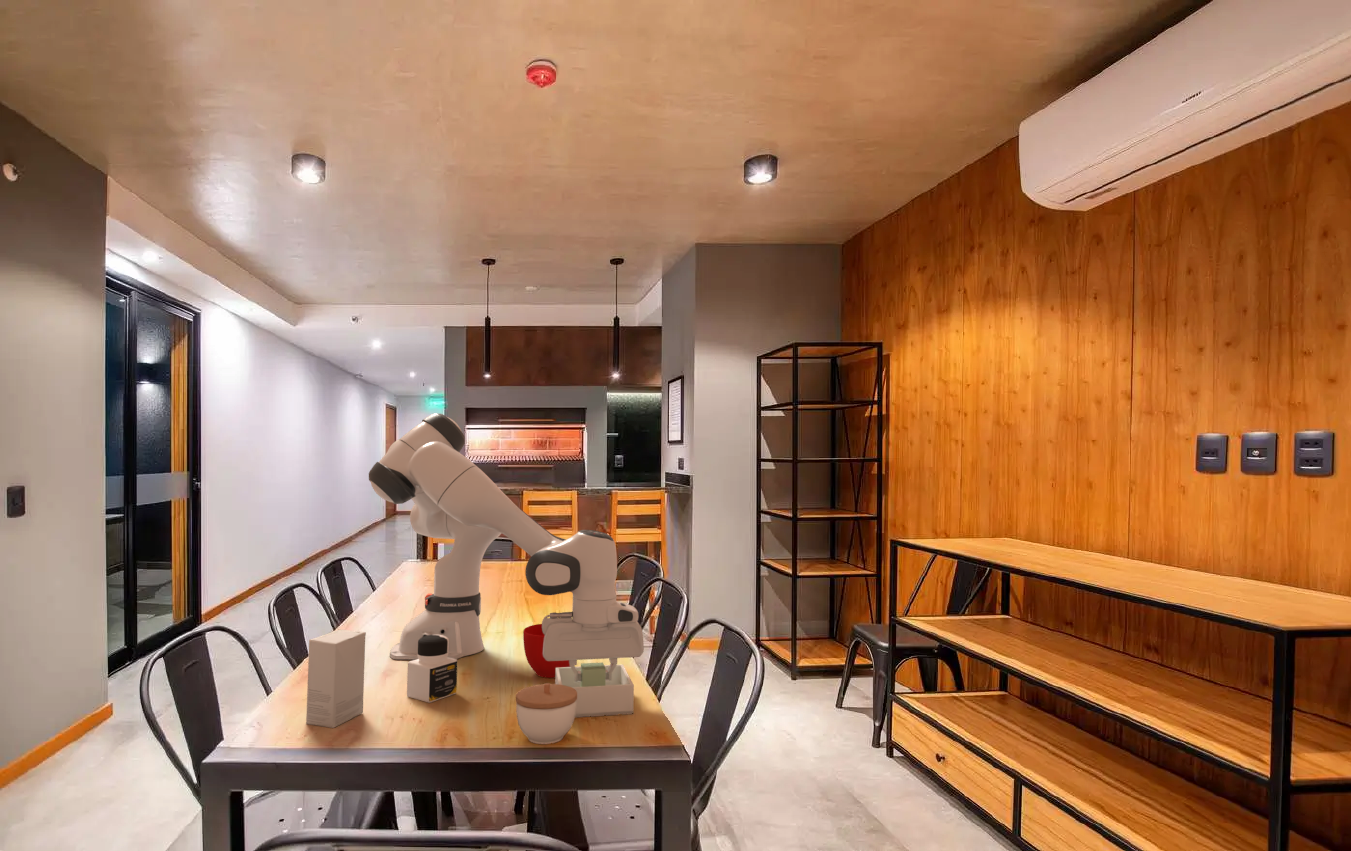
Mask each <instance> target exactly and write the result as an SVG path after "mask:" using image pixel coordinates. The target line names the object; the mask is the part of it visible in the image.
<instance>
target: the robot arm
mask: <svg viewBox="0 0 1351 851" xmlns="http://www.w3.org/2000/svg"><path fill="white" fill-rule="evenodd" d="M465 439H466V438H465V435H464V432H463V431H462V428H461V427H460V426H459V424H458V423H457V422H456V421H455V420H454V419H452V418H450V417H448V416H447V415H445V414H442V413H435V412H434V413H432V414H430V415H428V416H426V417H424V418H423V419H422V421H421V422H420V423H419V424H417V425H416V426H414V427H413V428H412V429H410V430H409V431H408V432H407V433H405V434H404V435H403V436H401V437H400V438H399V439H397V440H395V441H394V442H393V443H392V444H391V445H390V446H389V448H388V449H387V452H386V453H385V454H384V456H383V457H381V459H380V460H379V461H376V462H375V463H374V464H373V466H372V467H371V469H370V471H369V472H368V481H369V482H370V483H371V487H372V489H373V490H374V492H375V493H376V494H377V495H378V497H380V498H381V499H383V500H385V501H387V502H389V503H392V504H393V505H399V504H402V505H403V504H405V503H407V502H409V501H410V500H412V501H413V503H414V504H413V506H412V508H411V510H410V514H409V515H410V516H409V520H410V525H411V527H412V530H413V531H414V532H415V534H418V535H422V536H425V537H428V538H433V539H441V540H442V539H445V540H454V541H453V546H452V548H451V551H450V552H449V553H447V554H445V555H443V556H442V557H440V559H439V560H438V561H437V562H436V563H435V566H434V572H433V573H434V576H433V579H434V580H433V593H431V592H430V593H427V594H426V595H425V597H424V610H423V611H422V612H421V613H420V614H418V615H416V616H415V617H414V618H412V619H411V620H410V621H408V623H407V624H406V625H404V628H402V631H401V634H400V639H399V643H396V644H394V645H393V646H392V647H391V648H390V651H389V657H390V658H391V659H392V660H416V659H419V658H418V640H419V639H420V638H422V637H424V636H427V635H443V636H446V637H447V638H448V639H449V645H448V656H447V657H449V658H453V659H457V660H459V659H460V658H463V657H466V656H471V655H475V654H477V653H480V652H481V651H483V650H484V649H485V645H484V641H483V638H482V637H483V636H482V631H481V626H480V625H481V623H480V614H481V610H482V609H481V608H482V607H481V606H482V597H481V592H480V577H481V574H480V573H481V567H482V563H483V558H484V555H485V553H486V550H487V549H488V548H489V546H490V545H491V544H492V542H494V541H495V540H496V539H497V538H499V537H500V536H501V535H503V536H505V537H507V538H508V539H509V540H510V541H512V542H513V543H514V544H515V545H517V546H518V547H519V548H520V549H522V550H523V551H524V552H526V553H527V554H528V555H529V556H530V558H529V559H528V561H527V562H526V566H525V569H524V570H525V571H524V572H525V579H526V582H527V584H528V585H529V587H530V588H531V590H533V591H534V592H536V593H537V594H540V595H543V596H556V595H560V594H567V593H569V592H570V593H572V608H571V609H572V611H565V612H556V611H555V612H550V613H549V614H547V615H545V616H544V617H543V619H542V621H541V624H542V632H543V634H544V635H545V636H544V643H543V657H544V658H545V659H546V660H547V661H563V660H569V664H570V667H571V669H572V670H573V672H574V681H575V682H582V671H577V669H576V667H577V665H578V661H579V660H580V661H582V660H583V661H584V660H602V659H603V660H604V659H608V660H609V662H610V664H609V665H610V666H609V667H608V669H607V670H606V676H605V681H609V680H611V679H612V672H613V670H614V668H615V667H616V665H618V659H620V658H621V659H625V658H627V659H629V658H641V656H642V655H643V654H644V651H645V650H644V649H645V646H644V634H643V628H642V627H641V624H640V623H639V622H638V621H639V612H638V609H637V608H636V607H635V606H633V605H631V604H627V603H624V602H621V601H617V591H616V579H617V577H618V576H617V575H618V560H617V559H618V557H617V546H616V542H615V539H614V538H613V537H612V536H611V535H609V534H608V533H605V532H602V531H598V530H593V529H581V530H578V531H577V533H575V534H573V535H572V536H570V537H568V538H567V539H565V538H562V537H559V536H557V535H554V534H553V533H551V532H550V531H548V530H547V529H546V528H545V527H543V526H542V525H541V524H540V523H539V522H538V521H536V520H534V518H532V516H530V515H529V514H527V513H526V512H525V511H523V510H522V509H521V508H520V507H519V506H517V505H516V504H515V503H514V502H513V501H512V500H511V499H510V497H508V495H506V494H505V493H504V492H503V491H502V490H501V488H499V486H498V485H497V484H496V483H495V482H494V481H493V480H492V479H491V478H490V477H489V476H488V475H487V474H486V473H485V472H484V471H483V470H482V469H481V468H479V467H478V466H477V465H476V464H475V463H474V462H473V461H471V460H470V459H469V458H468V457H466V456H465V455H463V454H462V453H461V450H462V449H463V448H464V446H465V443H466V440H465Z"/></svg>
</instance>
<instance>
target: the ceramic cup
mask: <svg viewBox="0 0 1351 851" xmlns="http://www.w3.org/2000/svg"><path fill="white" fill-rule="evenodd" d="M522 632H523V633H522V635H523V636H522V637H523V638H522V639H523V650H524V654H525V659H526V661H527V663H528V664H529V666H530V668H531V669H532V671H533V672H534V673H535V674H536V676H538V677H541V678H549V679H550V678H551V679H552V678H555V671H556V668H559V667H570V664H569V660H563V661H547V660H546V659H545V658H544V657H543V643H544V636H545V635H544V634H543V632H542V623H537V624H532V625H529V626H527V627H525V628H524V629H523V631H522Z"/></svg>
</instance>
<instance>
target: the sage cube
mask: <svg viewBox="0 0 1351 851" xmlns="http://www.w3.org/2000/svg"><path fill="white" fill-rule="evenodd" d="M604 665H605V663H604V662H587V663H586V662H584V663H580V666H581V671H582V682H581V685H580V686H581V687H588V686H605V676H606V669H605V666H604Z"/></svg>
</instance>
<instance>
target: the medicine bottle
mask: <svg viewBox="0 0 1351 851" xmlns="http://www.w3.org/2000/svg"><path fill="white" fill-rule="evenodd" d="M448 645H449V639H448V638H447V637H446V636H443V635H427V636H424V637H422V638H420V639H419V640H418V658H419V659H412V660H410V661H408V662H407V675H406V677H407V678H406V697H408V698H412V699H414V700H418V701H422V702H425V703H428V704H431V703H433V702H436V701H439V700H441V699H445V698H447V697H451V696H453V695H456V694H457V688H458V687H457V686H458V684H457V683H458V659H453V658H449V657H447V656H448Z"/></svg>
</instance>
